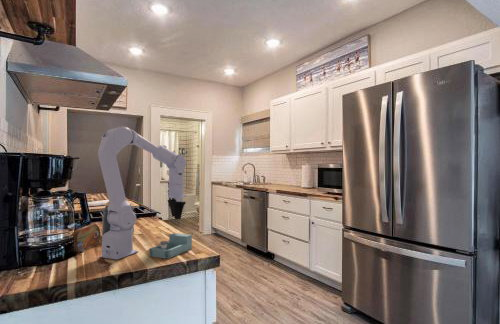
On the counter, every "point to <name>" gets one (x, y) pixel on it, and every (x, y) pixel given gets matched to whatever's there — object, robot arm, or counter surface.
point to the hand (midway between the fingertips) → (176, 217)
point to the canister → (105, 222)
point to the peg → (164, 244)
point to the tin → (86, 237)
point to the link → (173, 246)
